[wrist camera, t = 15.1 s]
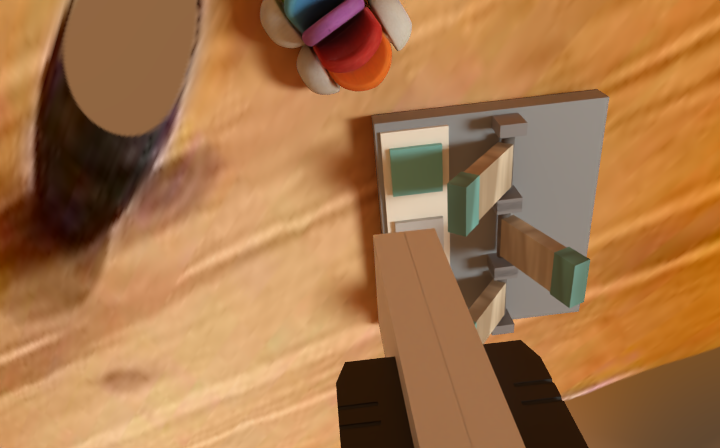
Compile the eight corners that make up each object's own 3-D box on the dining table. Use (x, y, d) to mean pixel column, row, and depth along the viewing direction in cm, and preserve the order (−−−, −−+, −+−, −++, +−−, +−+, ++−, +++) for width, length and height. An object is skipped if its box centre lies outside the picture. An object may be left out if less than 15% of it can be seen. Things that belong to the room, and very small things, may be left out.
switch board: (389, 320, 54) (394, 350, 50) (371, 115, 43) (377, 134, 40) (570, 298, 54) (588, 326, 51) (597, 89, 43) (623, 106, 40)
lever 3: (492, 254, 47) (569, 311, 40) (493, 210, 45) (575, 262, 38) (505, 249, 48) (583, 304, 41) (507, 205, 46) (590, 255, 39)
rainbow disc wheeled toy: (326, 102, 43) (329, 137, 36) (244, -9, 38) (231, 9, 32) (419, 37, 41) (439, 62, 34) (345, -87, 36) (351, -85, 30)
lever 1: (500, 183, 45) (447, 235, 39) (502, 132, 42) (447, 179, 36) (516, 186, 44) (466, 240, 38) (519, 135, 42) (466, 183, 36)
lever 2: (494, 308, 51) (449, 368, 45) (496, 269, 49) (449, 328, 43) (509, 312, 50) (464, 375, 44) (511, 274, 48) (465, 334, 42)
